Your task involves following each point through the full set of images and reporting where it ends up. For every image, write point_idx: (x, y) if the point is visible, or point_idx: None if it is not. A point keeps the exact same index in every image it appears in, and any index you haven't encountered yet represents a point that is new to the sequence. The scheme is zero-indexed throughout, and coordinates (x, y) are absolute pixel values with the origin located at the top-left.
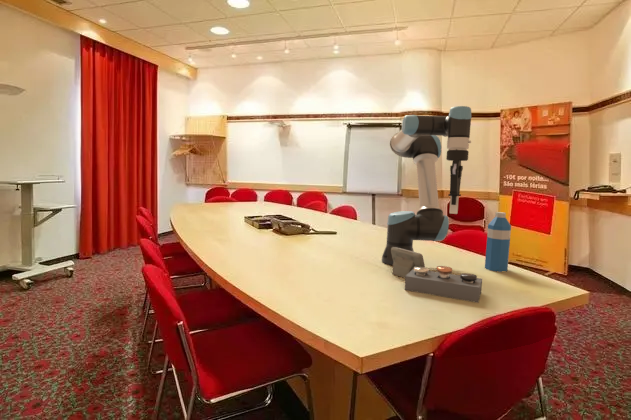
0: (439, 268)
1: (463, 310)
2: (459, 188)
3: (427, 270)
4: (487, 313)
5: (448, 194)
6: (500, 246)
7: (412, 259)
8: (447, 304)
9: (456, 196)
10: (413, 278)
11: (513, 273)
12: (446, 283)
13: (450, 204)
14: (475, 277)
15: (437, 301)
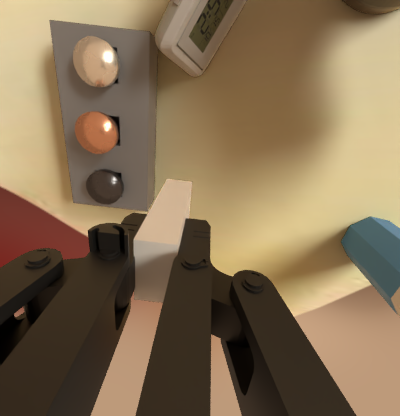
0: (79, 120)
1: (29, 167)
2: (235, 390)
3: (90, 84)
4: (42, 202)
5: (89, 229)
6: (377, 281)
7: (209, 10)
8: (40, 139)
9: (133, 287)
10: (54, 48)
11: (333, 265)
12: (66, 138)
13: (152, 205)
14: (96, 201)
15: (43, 119)
